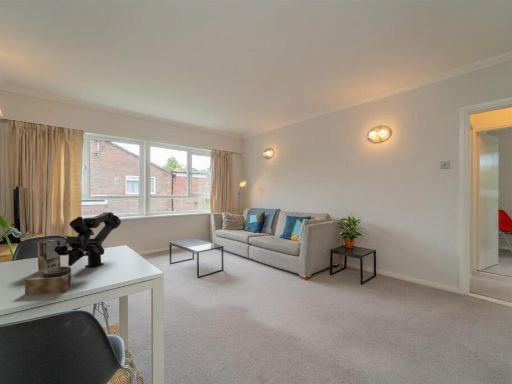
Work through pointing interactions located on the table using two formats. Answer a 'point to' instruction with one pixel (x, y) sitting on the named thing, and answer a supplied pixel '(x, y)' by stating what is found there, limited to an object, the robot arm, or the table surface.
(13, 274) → the table surface
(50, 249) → the coffee box
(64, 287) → the walnut board
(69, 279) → the jar
